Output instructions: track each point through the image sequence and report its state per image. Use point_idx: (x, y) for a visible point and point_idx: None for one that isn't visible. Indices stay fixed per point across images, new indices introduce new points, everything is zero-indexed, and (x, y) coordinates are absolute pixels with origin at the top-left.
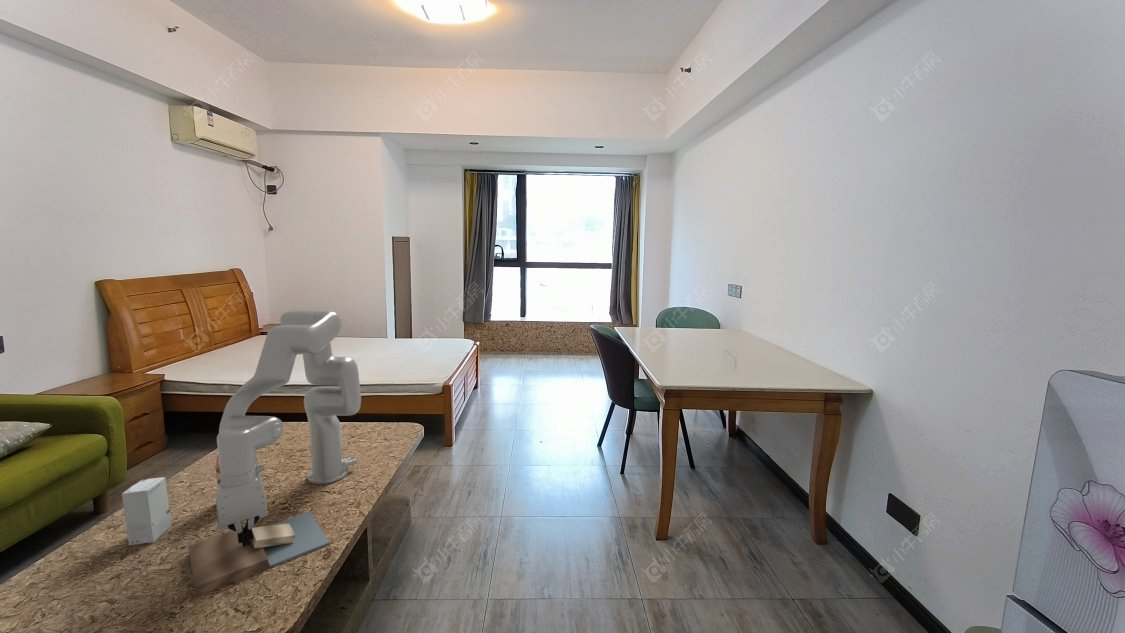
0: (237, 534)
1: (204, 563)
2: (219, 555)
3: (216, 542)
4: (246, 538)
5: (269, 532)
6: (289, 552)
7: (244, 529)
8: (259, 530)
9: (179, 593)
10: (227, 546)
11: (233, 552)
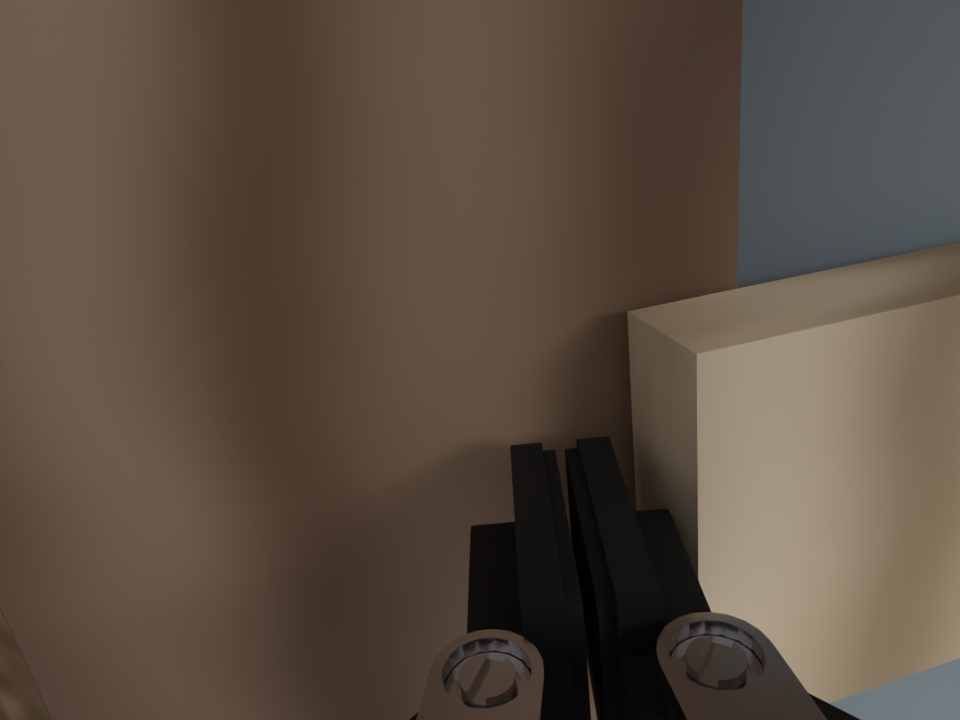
0: (469, 602)
1: (118, 598)
2: (260, 533)
3: (163, 151)
4: (588, 663)
5: (902, 528)
6: (920, 678)
7: (592, 601)
8: (798, 461)
9: (22, 683)
10: (335, 372)
11: (414, 559)
